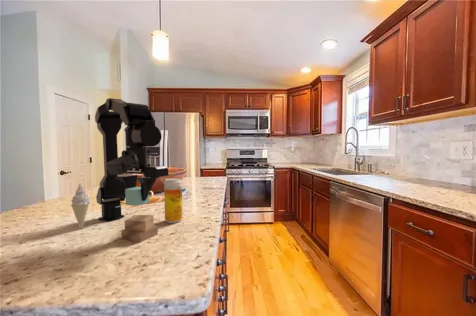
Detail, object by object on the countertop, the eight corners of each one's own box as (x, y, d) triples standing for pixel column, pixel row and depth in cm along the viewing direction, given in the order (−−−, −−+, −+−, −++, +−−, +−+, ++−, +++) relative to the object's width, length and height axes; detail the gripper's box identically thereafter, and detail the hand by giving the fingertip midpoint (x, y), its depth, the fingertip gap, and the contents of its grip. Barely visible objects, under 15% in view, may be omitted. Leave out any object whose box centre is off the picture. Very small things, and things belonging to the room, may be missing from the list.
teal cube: (125, 204, 69) (125, 189, 69) (137, 201, 73) (137, 186, 73) (137, 206, 67) (137, 190, 67) (149, 202, 71) (148, 187, 71)
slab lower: (121, 240, 69) (121, 230, 69) (139, 232, 75) (139, 223, 75) (140, 243, 66) (140, 233, 66) (157, 235, 73) (157, 225, 72)
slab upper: (124, 231, 68) (124, 221, 67) (134, 224, 74) (134, 215, 73) (145, 231, 67) (145, 221, 67) (153, 224, 73) (153, 215, 73)
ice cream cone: (94, 227, 79) (92, 182, 79) (79, 232, 75) (77, 184, 74) (82, 225, 81) (81, 181, 80) (68, 230, 76) (66, 183, 76)
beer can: (177, 224, 82) (177, 180, 81) (161, 223, 83) (160, 180, 82) (185, 218, 88) (184, 178, 87) (170, 218, 89) (169, 178, 88)
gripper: (88, 147, 66) (90, 203, 66) (139, 146, 58) (140, 209, 59) (122, 147, 76) (123, 195, 77) (169, 146, 69) (170, 200, 69)
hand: (137, 200), depth 70 cm, fingers closed on teal cube, 4 cm apart
